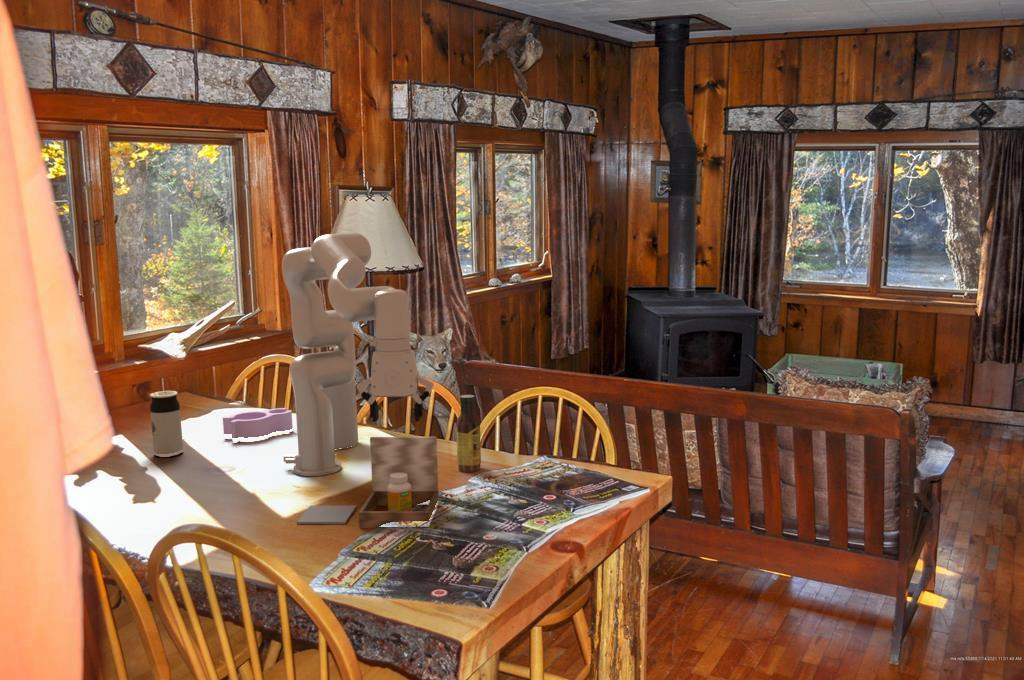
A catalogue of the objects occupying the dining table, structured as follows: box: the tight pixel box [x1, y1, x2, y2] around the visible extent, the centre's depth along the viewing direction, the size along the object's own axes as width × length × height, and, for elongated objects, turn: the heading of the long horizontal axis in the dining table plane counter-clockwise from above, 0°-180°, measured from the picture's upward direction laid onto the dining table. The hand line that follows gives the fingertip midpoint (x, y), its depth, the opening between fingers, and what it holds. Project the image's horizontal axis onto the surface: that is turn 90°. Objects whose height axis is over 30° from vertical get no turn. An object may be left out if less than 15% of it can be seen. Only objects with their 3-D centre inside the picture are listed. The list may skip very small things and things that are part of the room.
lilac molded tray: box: [222, 407, 294, 438], centre depth 290 cm, size 20×12×7 cm, turn 127°
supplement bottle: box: [387, 472, 413, 511], centre depth 215 cm, size 5×5×10 cm
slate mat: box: [296, 505, 357, 525], centre depth 216 cm, size 11×11×1 cm
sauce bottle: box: [456, 394, 482, 473], centre depth 249 cm, size 6×6×20 cm
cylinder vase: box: [322, 377, 359, 449], centre depth 276 cm, size 12×12×25 cm
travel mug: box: [149, 390, 184, 454], centre depth 270 cm, size 8×8×18 cm
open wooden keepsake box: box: [358, 436, 440, 529], centre depth 214 cm, size 16×16×16 cm
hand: (396, 420), depth 212 cm, fingers open, 9 cm apart
